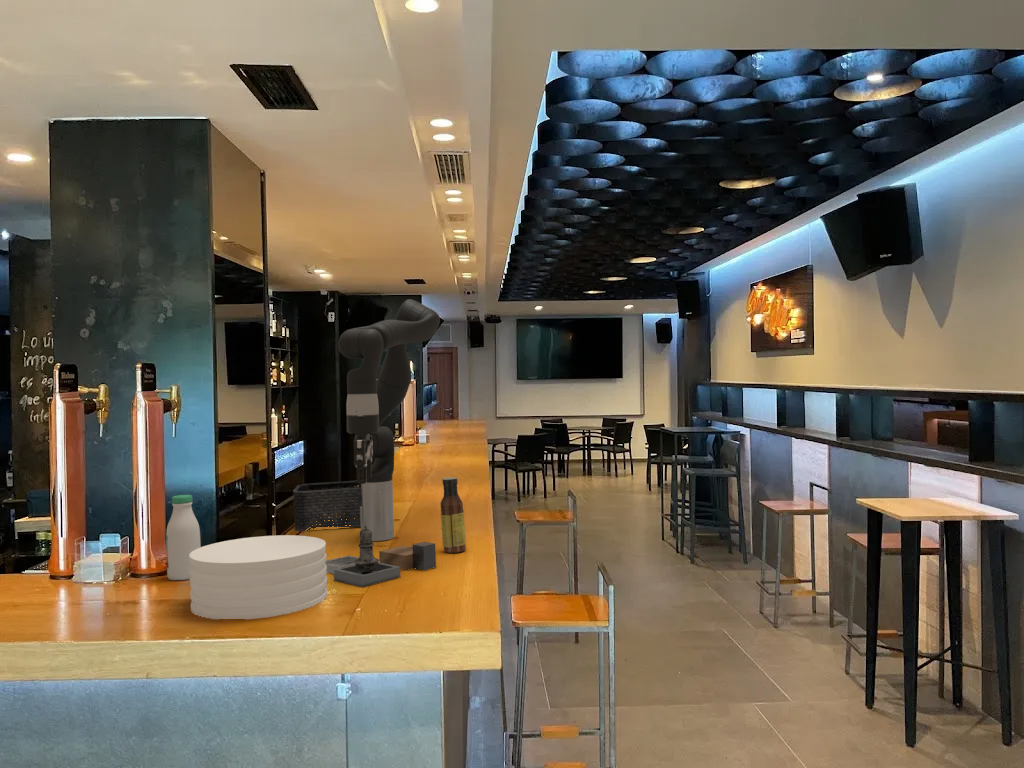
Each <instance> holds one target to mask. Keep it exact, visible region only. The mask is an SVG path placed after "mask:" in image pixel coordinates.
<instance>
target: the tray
mask: <svg viewBox="0 0 1024 768" xmlns="http://www.w3.org/2000/svg"><path fill="white" fill-rule="evenodd" d="M372 572H373V573H369V574H365V575H363V574H359V573H362V572H360V571H358V570H357V568H356V565H351V566H347V567H343V568H339V569H335V570H334V574H333V581H336V582H339V583H343V584H348V585H353V586H357V587H361V588H366V587H370V586H372V584H374V585H376V584H375V583H377V584H380V583H379V582H381V583H384V582H383V581H385V582H388V581H387V580H389V581H391V579H392V580H395V579H394V578H396V579H399V578H398V577H400V578H401V570H400V567H399V566H394V565H389V564H384V563H380V561H379V562H378V566H377V568H376V569H375V570H374V571H372ZM369 585H370V586H369Z"/></svg>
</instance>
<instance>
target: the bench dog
mask: <svg viewBox="0 0 1024 768" xmlns="http://www.w3.org/2000/svg"><path fill="white" fill-rule="evenodd" d="M411 547H412V548H413V568H416V569H415V570H417V569H421V570H420V571H422V570H426V571H428V570H427V569H430V568H433V567H436V568H437V555H436V554H437V553H436V551H437V550H436V543H434V542H429V541H423V542H418V543H413V544H412V546H411ZM433 569H434V568H433ZM430 570H431V569H430Z"/></svg>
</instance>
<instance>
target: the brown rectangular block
mask: <svg viewBox="0 0 1024 768" xmlns="http://www.w3.org/2000/svg"><path fill="white" fill-rule="evenodd" d="M378 552H379V554H378V555H379V556H378V557H379V558H378V559H379V563H384V564H389V565H394V566H399V567H400V569H403V570H402V571H405V570H407V571H409V570H408V569H411V568H413V548H412V546H407V545H400V546H395V547H391V548H386V549H382V550H379V551H378ZM411 570H412V569H411Z"/></svg>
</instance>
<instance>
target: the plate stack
mask: <svg viewBox="0 0 1024 768" xmlns="http://www.w3.org/2000/svg"><path fill="white" fill-rule="evenodd" d="M326 550H327V542H326V541H325V540H324V539H322V538H319V537H316V536H308V535H294V534H293V535H292V534H291V535H290V534H289V535H286V534H285V535H284V534H283V535H281V534H280V535H263V536H250V537H242V538H236V539H228V540H224V541H220V542H215V543H210V544H207V545H203V546H201V547H200V548H198V549H196V550H194V551H192V552H191V553H190V554H189V562H190V563H191V565H190V575H191V576H192V577H191V578H190V579H189V586H190V588H191V589H190V592H189V595H190V597H189V598H190V600H191V602H190V611H191V613H192V614H194V615H196V616H197V615H198V617H200V616H201V618H204V617H205V619H209V618H210V619H211V620H219V619H245V620H256V619H264V618H271V617H278V615H279V616H284V615H289V614H293V613H296V612H300V611H304V610H306V608H307V609H309V607H310V608H312V607H315V606H316V604H317V605H319V604H321V603H322V602H323V601H325V600H326V599H325V598H327V597H328V595H327V594H328V588H327V586H328V576H327V574H328V573H327V566H326V564H325V563H326V560H327V553H326V552H325V551H326ZM324 599H325V600H324ZM321 601H322V602H321ZM318 603H319V604H318ZM311 606H312V607H311ZM303 609H304V610H303ZM292 612H293V613H292ZM283 614H284V615H283Z"/></svg>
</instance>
